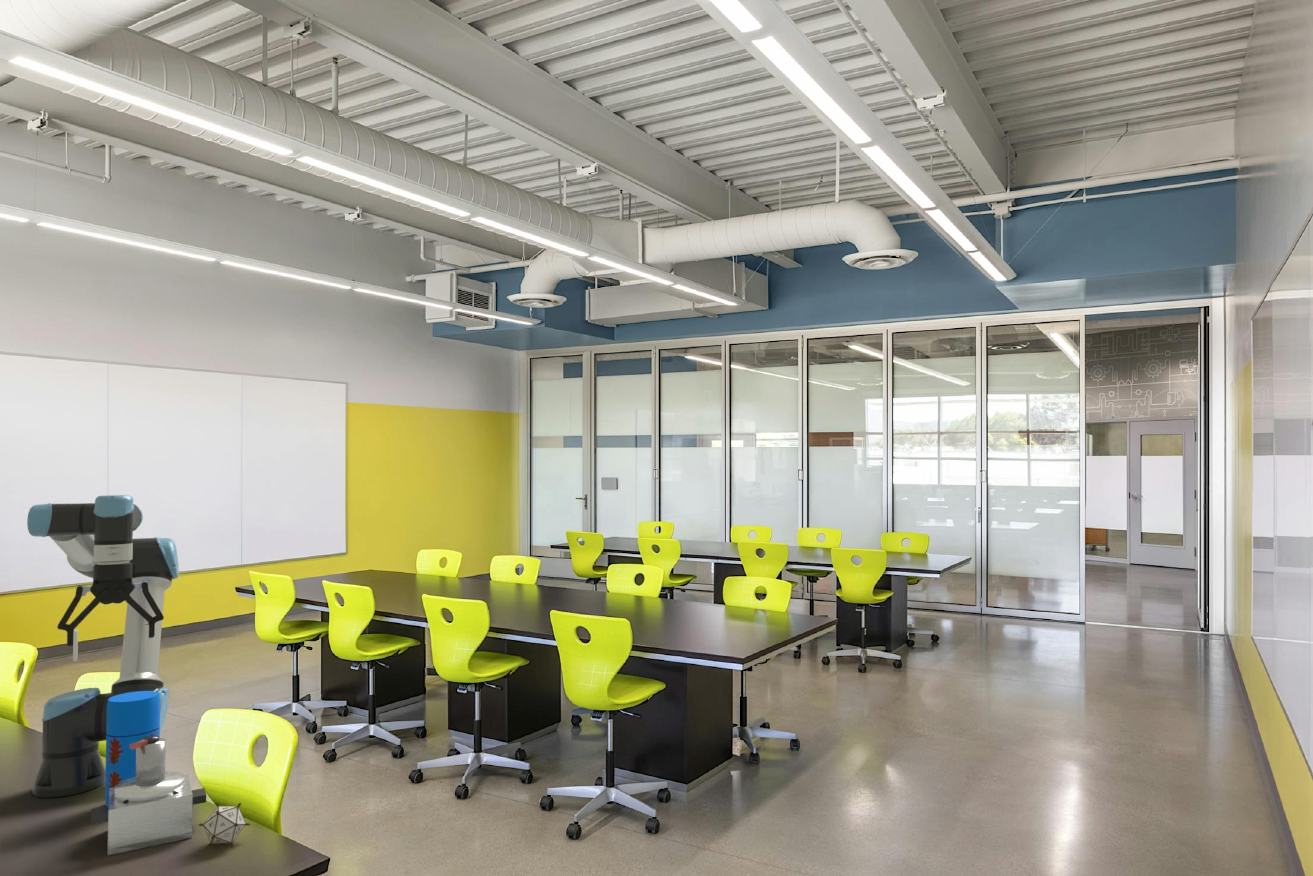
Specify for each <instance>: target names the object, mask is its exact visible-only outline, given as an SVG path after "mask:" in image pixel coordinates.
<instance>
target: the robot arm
mask: <svg viewBox="0 0 1313 876" xmlns="http://www.w3.org/2000/svg"><path fill="white" fill-rule="evenodd" d="M143 514H144V513H143V511H142V510H141V508H140V507H139V506H138V505H137V504H135V503H134V497H133V496H132V495H130V494H113V495H112V494H111V495H110V494H109V495H98V496H97V497H96V498H95V499H94V502H93V503H92V502H90V503H88V502H84V503H80V502H79V503H50V502H49V503H42V504H34V505H32V506H31V507H30V508H29V511H28V513H27V519H26V520H27V521H26V523H27V525H26V526H27V530H28V533H29V535H30V536H32V537H41V538H46V537H50V539H51V540H53V542H54V543H55V544H56V545H57V546H58V547H59V548H60V549H61V550H62V551H63V552H64V554H65V555H66V560H67V563H68V564H69V566H70V567H71V568H73V570H75V571H76V572H78V573H79V574H81V575H84V576H85V577H88V578H90V579H92V585H91V586H83V585H77V586H76V589H75V596H74V597H73V599H72V600H71V602H70V604H69V606H68V607H67V609H66V611H65V612H64V614H63V616H62V617H61V619H60V620H59V623H58V624H57V626H56V628H57V629H58V630H62V631H64V632H66V645H67V646H68V647H72V648H73V649H72V662H78V649H79V648H78V644H79V643H78V642H79V629H76V628H77V627H78V626H79V625H80V624H81V623H82V622H83V620H85V618H87V616H89V615H90V613H91V612H92V611H93V610H94V609H95V608H96V607H98V605H99V604H102V605H111V604H122V603H123V602H126V613H125V622H124V629H123V630H124V631H123V641H122V652H121V659H120V660H121V661H120V669H119V670H120V672H119V678H117V680H116V681H114V682H113V683H112V685H111V690H110V692H109V693H108V692H107V693H106V692H105V693H102V692H101V689H100V688H99V687H87V688H81V689H76V690H72V691H68V692H65V693H62V694H59V695H56V696H53V697H51V698H50V699H47V701H46V702H45V703H44V705H43V714H42V715H43V716H42V718H41V721H42V739H41V740H42V741H41V742H42V743H41V745H42V749H41V751H42V754H41V761H40V765H39V767H38V770H37V771H36V775H35V778H34V780H33V783H32V791H31V792H32V795H33V796H34V797H37V798H59V797H61V798H62V797H68V796H72V795H77V794H82V793H84V792H89V791H92V790H93V789H96V788H98V787H100V786H102V785H104V784H105V772H106V766H105V765H104V762H103V759H102V757H101V754H100V751H99V745H100V744H99V743H100V742H106V722H107V703H108V699H109V698H111V697H113V696H116V695H119V694H124V693H130V692H137V691H157V692H159V694H160V731H161V730H162V728H163V726H164V724H165V721H166V718H167V714H168V711H169V710H168V709H169V704H170V702H169V700H170V690H169V688H168V687H165V686H164V681H163V680H162V679H161V678H160V677H159V676H158V675H159V674H158V672H159V663H160V650H161V640H162V639H161V638H162V627H163V626H162V625H163V620H164V618H165V617H164V615H163V614H164V603H165V593H166V590H168V589H170V588H171V587H172V583H173V580H175V579H178V578H179V576H180V575H179V574H180V570H179V569H180V567H179V558H178V552H177V545H176V543H175V541H174V540H173V539H172V538H170V537H157V536H156V537H148V538H147V537H145V538H141V537H140V538H134V537H133V536H134V535H133V534H134V531H136V530H137V529H138V528H139V527H140V526H141V524H142V522H143V519H144V515H143ZM89 592H90V593H91V594H92V595H93V596H94V598H93V599H92V600H91V601H90V603H89V604H88V605H86V607H85V608H84V609H83V610H81V612H80V613H79V614H78V615H77V616H76V618H74V619H73V620H72V621H71V622H70V623H68V621H69V620H70V618H71V616H72V615H73V613H74V612H75V609H76V608H77V607H78V604H79V603H80V601H81V600H82V597H85V596H86V595H87V594H88V593H89Z"/></svg>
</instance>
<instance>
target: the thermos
mask: <svg viewBox="0 0 1313 876" xmlns="http://www.w3.org/2000/svg"><path fill="white" fill-rule="evenodd" d="M160 734H161V730H160V694H159V692H157V691H137V692H130V693H124V694H119V695H116V696H113V697H111V698H109V699H108V703H107V722H106V741H105V770H106V772H105V783H104V784H105V786H104V796H105V798H104V799H105V806H109V788H113V787H115V786H116V785H117V784H118V783H120V782H122V781H124V780H126V779H129V778H132V777H135V776H136V749H130V744H132V743H135V742H138V741H140V740H143V738H144V737H146V736H151V735H159V738H161V737H160Z"/></svg>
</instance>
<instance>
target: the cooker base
mask: <svg viewBox="0 0 1313 876" xmlns="http://www.w3.org/2000/svg"><path fill="white" fill-rule="evenodd" d="M184 775H185V787H184V788H183V789H182V790H181V791H179V792H177V793H175V794H173V795H170V796H168V797H164V798H161V799H157V800H152V801H146V802H138V803H124V802H119V801H116V800H115V798H114V793H115V787H113V788H109V806H106V805H105V806H99V807H94V808H91V813H90V814H91V815H90V825H96V824H101V823H105V822H107V827H108V828H107V856H111V855H116V854H121V853H126V852H131V851H134V850H140V849H145V848H151V847H155V846H158V845H164V844H169V843H173V842H177V841H178V842H179V841H184V840H188V839H192V838H193V806H194V805H200V804H203V803H204V804H205V803H207V792H206V789H205V787H204V788H203V787H202V788H198V789H193V790H192V787H191V783H190V778H189V774H184Z"/></svg>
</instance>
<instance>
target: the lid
mask: <svg viewBox="0 0 1313 876" xmlns="http://www.w3.org/2000/svg"><path fill="white" fill-rule="evenodd" d="M166 742H167V740H166V738H163V737H160V738H159V735H151V736H146V737H144V738H143V740H140V741H138V742H135V743H132V744H130V749H136V776H135V777H132V778H129V779H126V780H124V781H122V782H120V783H118V784H117V785H116V786H115V793H114V798H115V800H116V801H119V802H124V803H138V802H146V801H152V800H157V799H161V798H164V797H168V796H170V795H173V794H175V793H177V792H179V791H181V790H182V789H183V788H184V787H185V775H186V774H184V773H183V772H178V771H166V752H167V750H166V747H167V746H166V745H167V743H166Z"/></svg>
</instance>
